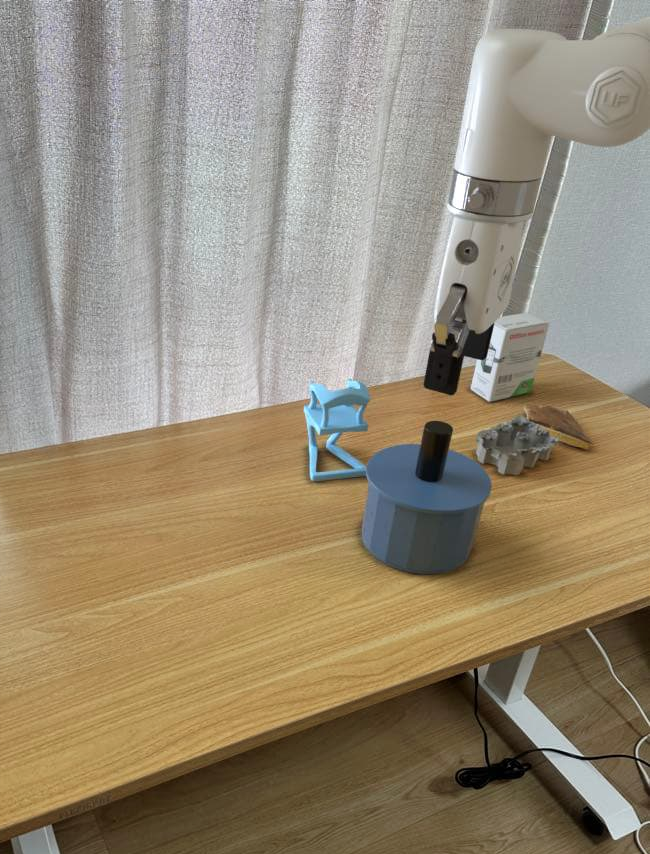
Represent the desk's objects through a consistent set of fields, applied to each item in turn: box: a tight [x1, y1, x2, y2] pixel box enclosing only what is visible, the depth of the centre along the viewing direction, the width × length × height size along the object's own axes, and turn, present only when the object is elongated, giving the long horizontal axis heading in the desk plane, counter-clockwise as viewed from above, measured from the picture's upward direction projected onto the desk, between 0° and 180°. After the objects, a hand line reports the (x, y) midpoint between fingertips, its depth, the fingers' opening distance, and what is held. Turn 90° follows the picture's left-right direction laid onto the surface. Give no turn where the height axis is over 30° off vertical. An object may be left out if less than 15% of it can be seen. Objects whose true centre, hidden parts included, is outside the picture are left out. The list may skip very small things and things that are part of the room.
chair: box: [303, 378, 371, 482], centre depth 104 cm, size 8×8×12 cm
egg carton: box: [474, 414, 559, 476], centre depth 110 cm, size 11×8×4 cm
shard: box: [523, 404, 594, 451], centre depth 116 cm, size 11×8×2 cm
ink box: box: [470, 312, 550, 403], centre depth 123 cm, size 9×5×12 cm, turn 116°
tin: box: [361, 482, 485, 575], centre depth 92 cm, size 13×13×8 cm
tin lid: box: [365, 420, 493, 514], centre depth 87 cm, size 14×14×7 cm
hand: (455, 373), depth 82 cm, fingers open, 9 cm apart
